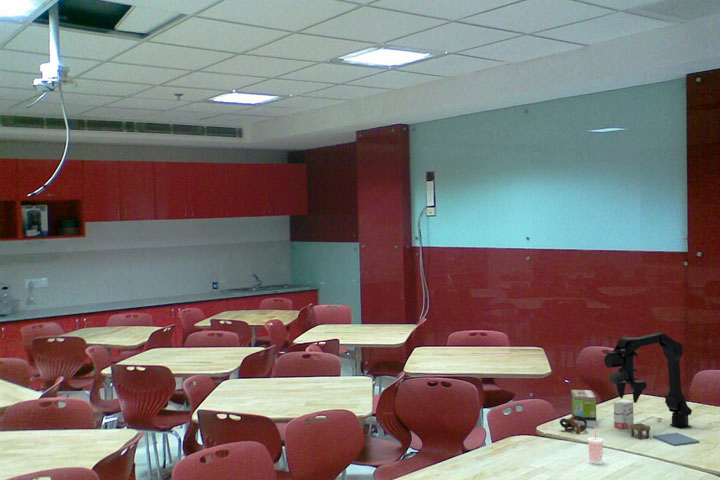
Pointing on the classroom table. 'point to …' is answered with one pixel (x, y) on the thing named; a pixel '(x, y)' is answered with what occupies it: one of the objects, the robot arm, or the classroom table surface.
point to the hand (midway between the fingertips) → (628, 400)
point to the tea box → (584, 407)
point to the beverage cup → (595, 449)
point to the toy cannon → (574, 423)
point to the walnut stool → (639, 429)
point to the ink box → (623, 414)
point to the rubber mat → (675, 439)
